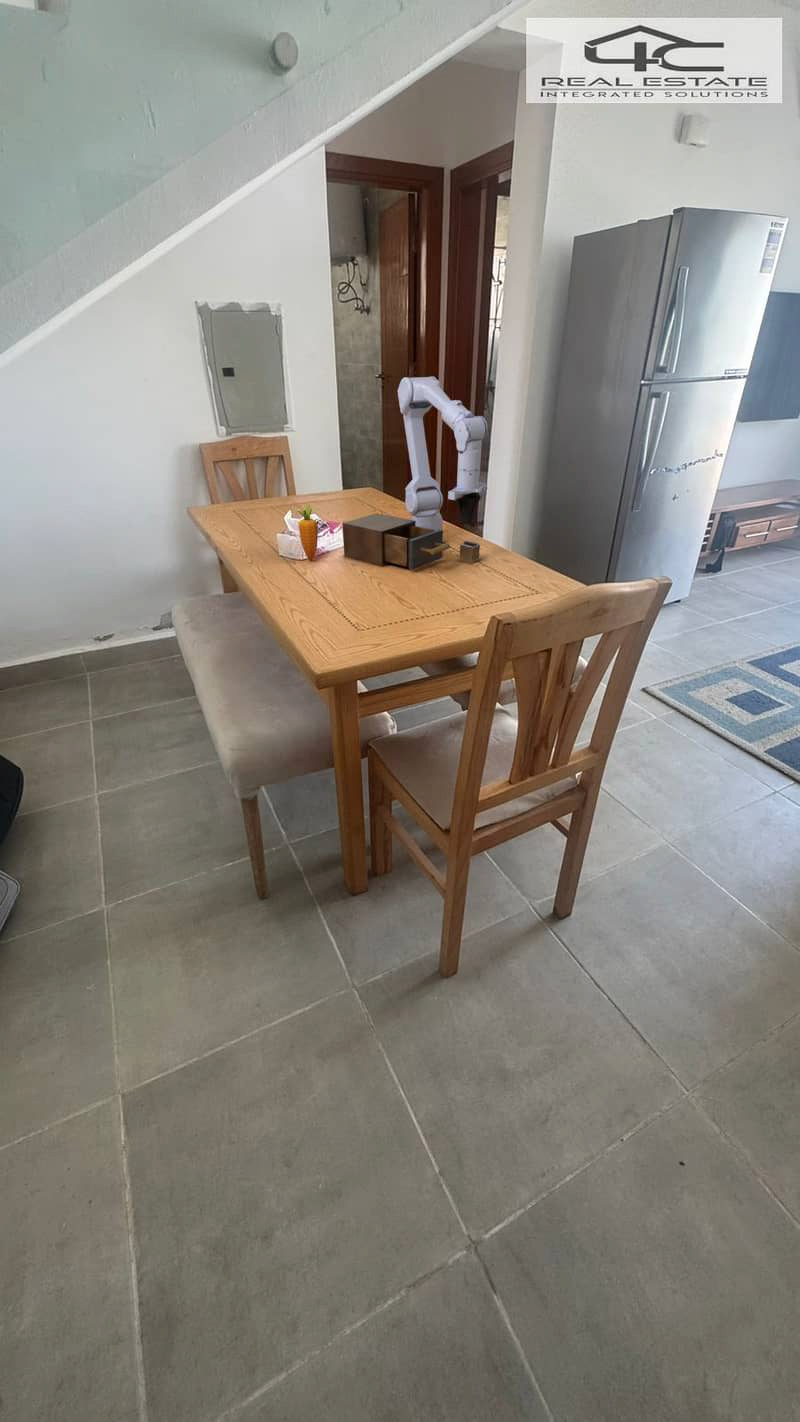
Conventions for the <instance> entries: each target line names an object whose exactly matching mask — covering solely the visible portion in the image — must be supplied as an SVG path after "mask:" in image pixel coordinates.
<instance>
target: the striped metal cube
mask: <svg viewBox="0 0 800 1422" xmlns="http://www.w3.org/2000/svg"><path fill="white" fill-rule="evenodd" d="M480 549H481V544H480V543H477V542H473V541H468V540H466V541H463V543H461V544H459V561H461V562H465V563H469V564H473V563H476V562H477V561H479V560H480V551H481V550H480Z"/></svg>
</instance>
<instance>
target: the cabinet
mask: <svg viewBox="0 0 800 1422" xmlns="http://www.w3.org/2000/svg"><path fill="white" fill-rule="evenodd" d="M415 523H416V521H414V520H412V519H409V518H403V517H399V516H393V515H389V514H383V513H379V512H376V513H373V514H369V515H365V516H362V517H359V518H355V519H351V520H347V521H345V522H342V541H343V557H345V558H349V559H351V560H352V559H353V560H357V561H361V562H364V563H368V564H372V565H375V566H379V567H384V566H387V565H390V564H391V563H390V562H386V561H384V544H383V533H387V532H390V531H393V530H396V529H399V528H402V527H405V526H408V525H414V526H416V524H415Z"/></svg>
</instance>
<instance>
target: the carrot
mask: <svg viewBox="0 0 800 1422" xmlns="http://www.w3.org/2000/svg"><path fill="white" fill-rule="evenodd" d="M305 507H306V508H303V509H297V513H299V514H301V516H302V517H303V519H301V520H300V521H299V522H298V531H299V539H300V542H301V546H302V549H303V552H304V554H305V556H306V557H307V559H308V560H309V561H310V562H313V560H314V558H315V556H316V553H317V549H318V539H319V538H318V536H319V531H318V522H317V520H315V519H313V518H311V514H312V510H313V509H312V508H311V506H310V504H308V503H307V504H305Z"/></svg>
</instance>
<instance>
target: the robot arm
mask: <svg viewBox="0 0 800 1422" xmlns="http://www.w3.org/2000/svg"><path fill="white" fill-rule="evenodd" d="M397 398H398V404H399V408H400V410H399V411H400V414H402V415H403V423H404V430H405V436H406V437H405V438H406V443H407V451H408V458H409V463H410V471H411V477H412V480H411V481H410V482H409V483H408V484H407V486H406V487H405V488H404V489H405V499H404V500H405V501H404V502H405V507H406V510H407V511H408V513H409V514H410V515H411V520H414V521H416V523H415V524H416V526H419V527H423V528H428V529H433V530H435V531H437V530H439V529H440V530H443V524H444V522H443V520H444V519H443V517H442V515H441V513H440V512H439V510H441V508H442V506H443V502H444V497H443V493H442V492H441V488H440V483H439V482H438V481H437V480H435V479H434V478H433V477H432V476H431V470H430V462H429V454H428V448H427V441H426V434H425V425H424V419H423V418H424V416H425V414H426V413H428V412H429V411H430V410H431V408H432V407H434V408H436V409H437V410H438V411H439V412H440V413H441V419H442V420H443V422H444V423H445V424H446V425H447V426H448V427H449V428H450V429H451V430H452V431H453V434H454V439H455V441H456V442H455V443H456V450H457V451H458V452H457V476H456V486H455V487H454V488H453V489H451V490H448V495H447V499H448V500H452V501H455V503H456V506H457V509H458V513H459V516H460V522H461V524H464V525H470V524H471V523H472V520H473V517H474V514H475V510H476V508H477V506H478V504H479V502H480V500H481V495H480V494H477V493H482V492H486V491H487V483H486V482H480V480H481V479H480V478H481V477H480V476H481V459H482V447H483V446H482V442H483V441H485V440H486V438H487V435H488V423H487V421H486V419H485V417H483V415H477V416H476V415H474V414H473V413H472V412H471V411H470V410H468V408H466V407H465V406H464V405H463V402H462V401H461V400H460V399H458V400H456V399H455V400H451V399H450V397H449V396H448V395H447V394H446V393H445V392H444V390H443V389H442V388H441V381H440V380H438V379H437V378H436V377H435V376H433V375H432V376H425V377H424V376H423V377H420V376H419V377H407V376H406V377H403V378H402V379H401V380H400V383H399V385H398V389H397ZM444 542H445V539H443V543H444Z"/></svg>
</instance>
